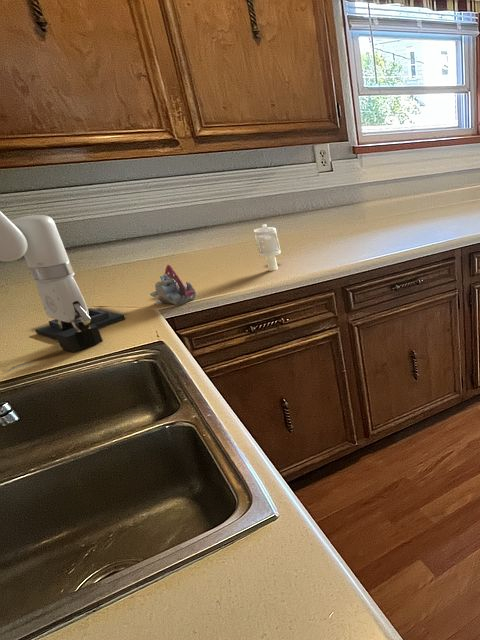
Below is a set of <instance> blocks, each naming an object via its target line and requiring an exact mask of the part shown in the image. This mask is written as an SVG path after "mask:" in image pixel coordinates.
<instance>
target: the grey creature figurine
mask: <svg viewBox="0 0 480 640" xmlns="http://www.w3.org/2000/svg"><path fill="white" fill-rule="evenodd" d="M164 271H165V272H164V274H163V275H160V276H159V278H160V281H157V282H156V283H155V285H154V288H155V291H152V292H151V293H150V294H149V295H150V297H153V298H156V299H157V301H155V302H154V303H153V305H157V304H161V303H164V304H171V305H174V306H182V305H184V304H186V303H188V302H191V301H194V300H195V298H196V296H197V292H196V289H195V288H194V286H193V285H192V283H191V282H190V281H186V282H185V283H186V285H185V283H184V282H183V281H182V280H181V278H180V276H178V274H177V272H175V270H174V269H173V267H172V266H171V265H170V264H167V265H166V267H165V270H164Z"/></svg>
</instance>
